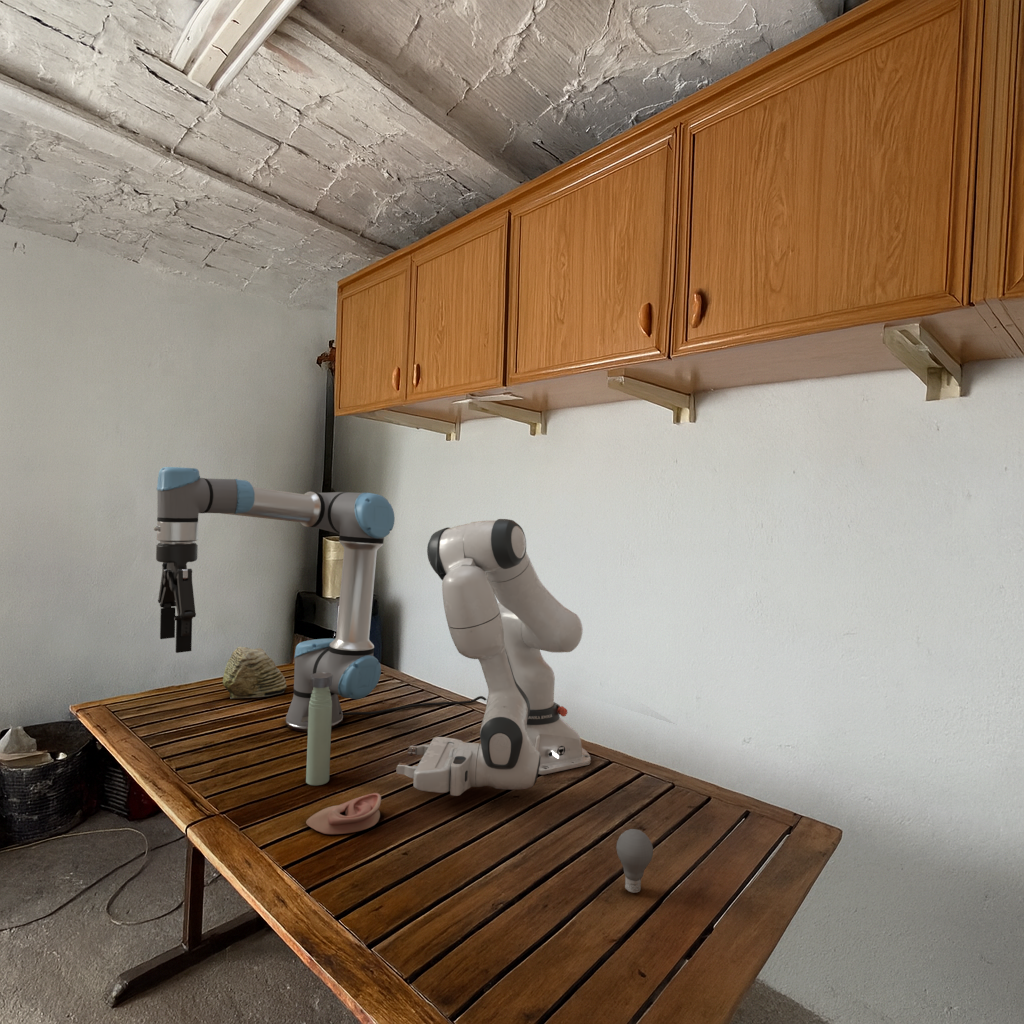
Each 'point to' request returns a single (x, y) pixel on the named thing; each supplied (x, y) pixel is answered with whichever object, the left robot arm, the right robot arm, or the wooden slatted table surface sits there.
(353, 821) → the anatomical model
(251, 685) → the fossil
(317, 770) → the bottle
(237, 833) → the wooden slatted table surface
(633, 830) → the light bulb
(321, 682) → the cap
